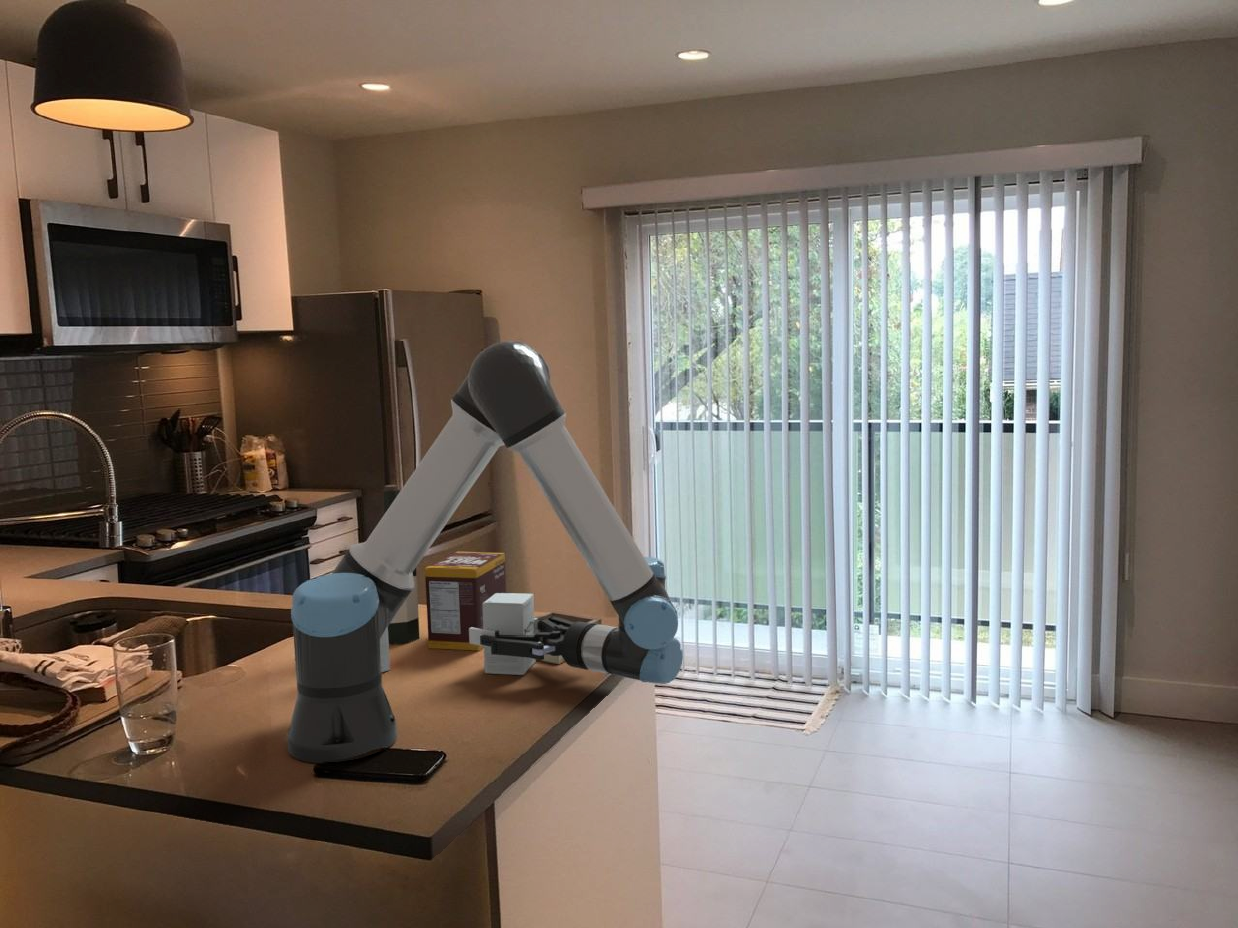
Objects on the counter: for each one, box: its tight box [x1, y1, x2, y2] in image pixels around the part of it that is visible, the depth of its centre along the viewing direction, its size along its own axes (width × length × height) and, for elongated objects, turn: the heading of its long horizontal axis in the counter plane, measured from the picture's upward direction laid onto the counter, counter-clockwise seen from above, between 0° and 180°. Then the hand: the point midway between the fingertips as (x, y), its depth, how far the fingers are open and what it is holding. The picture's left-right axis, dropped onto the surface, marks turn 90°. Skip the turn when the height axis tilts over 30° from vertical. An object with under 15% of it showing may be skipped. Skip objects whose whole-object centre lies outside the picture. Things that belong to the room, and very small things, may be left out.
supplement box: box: [424, 551, 507, 652], centre depth 193 cm, size 10×15×16 cm
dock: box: [534, 610, 619, 665], centre depth 189 cm, size 20×16×4 cm
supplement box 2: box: [483, 592, 536, 676], centre depth 174 cm, size 7×7×13 cm
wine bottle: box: [382, 484, 420, 646], centre depth 193 cm, size 8×8×30 cm
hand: (490, 628), depth 177 cm, fingers closed on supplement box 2, 9 cm apart
